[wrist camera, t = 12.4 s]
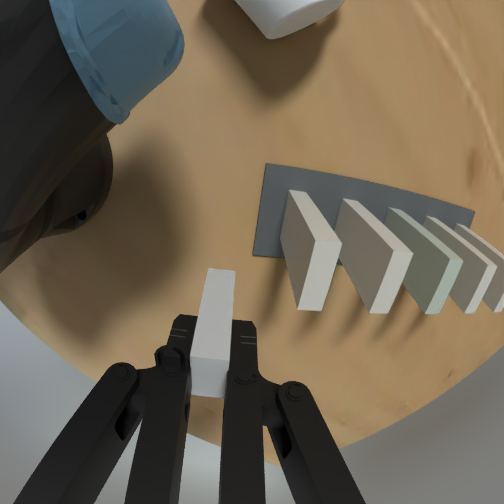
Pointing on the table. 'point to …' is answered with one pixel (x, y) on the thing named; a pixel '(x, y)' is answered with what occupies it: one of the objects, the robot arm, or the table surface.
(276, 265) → the table surface
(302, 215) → the tile
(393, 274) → the tile
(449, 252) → the tile
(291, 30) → the mug
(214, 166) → the table surface
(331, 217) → the strip
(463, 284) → the tile
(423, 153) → the table surface
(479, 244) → the tile
